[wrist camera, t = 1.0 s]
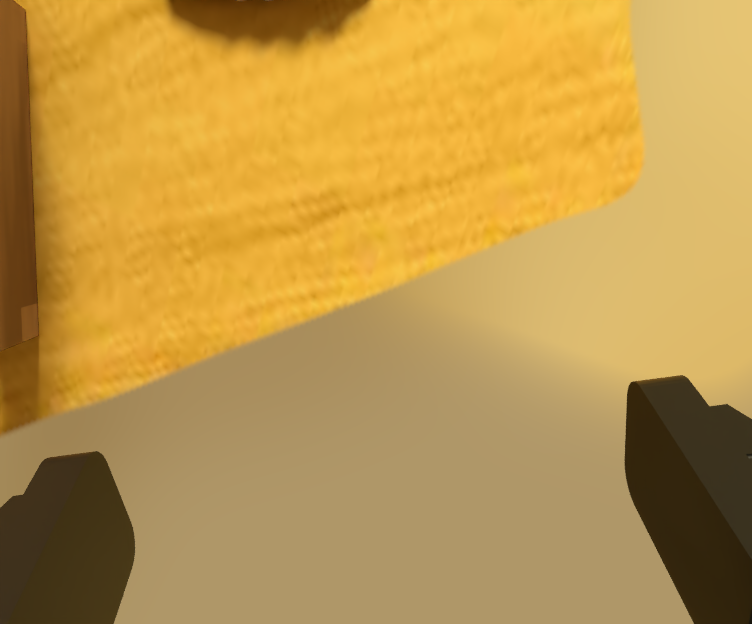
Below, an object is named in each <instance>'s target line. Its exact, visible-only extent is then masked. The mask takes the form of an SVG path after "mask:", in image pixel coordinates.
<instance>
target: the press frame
mask: <svg viewBox="0 0 752 624" xmlns="http://www.w3.org/2000/svg"><path fill="white" fill-rule="evenodd" d="M38 335H39V330H38V306H37V282H36V258H35V233H34V209H33V185H32V161H31V137H30V112H29V88H28V64H27V40H26V15H25V9H24V8H22V7H21V6H20V5H19V4H17V3H16V2H15V1H14V0H0V351H2V350H4V349H7V348H9V347H12V346H14V345H17V344H19V343H21V342H24V341H26V340H29V339H31V338H34V337H36V336H38Z"/></svg>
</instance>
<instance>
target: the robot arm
mask: <svg viewBox="0 0 752 624" xmlns="http://www.w3.org/2000/svg"><path fill="white" fill-rule="evenodd" d="M626 415H627V416H626V441H625V473H626V479H627V484H628V488H629V492H630V495H631V498H632V500H633V503H634V505H635V507H636V509H637V511H638V513H639V515H640V517H641V519H642V521H643V523H644V525H645V527H646V529H647V531H648V533H649V535H650V537H651V539H652V541H653V543H654V545H655V547H656V549H657V551H658V553H659V555H660V557H661V559H662V561H663V563H664V565H665V567H666V569H667V571H668V573H669V575H670V577H671V579H672V581H673V583H674V585H675V587H676V589H677V591H678V593H679V595H680V596H681V599H682V600H683V603H684V604H685V607H686V609H687V611H688V613H689V615H690V616H691V618H692V620H693V622H694V624H752V419H751V418H749V417H747V416H746V415H744V414H742V413H741V412H739V411H737V410H736V409H734V408H733V407H731V406H729V405H728V404H726V405H717V406H709V405H708V404H707V403H706V401H705V400H704V399H703V398H702V396H701V395H700V393H699V392H698V391H697V390H696V388H695V387H694V386H693V385H692V383H691V382H690V381H689V379H688V378H687V377H685V376H683V375H680V376H672V377H665V378H657V379H650V380H642V381H635V382H631V383H630V385H629V388H628V393H627V414H626ZM134 555H135V539H134V532H133V527H132V524H131V521H130V519H129V516H128V514H127V511H126V509H125V506H124V504H123V501H122V499H121V496H120V494H119V491H118V489H117V486H116V484H115V481H114V479H113V476H112V474H111V471H110V469H109V466H108V463H107V461H106V459H105V458H104V456H103V455H102V454H101V453H99V452H97V451H96V452H88V453H80V454H72V455H65V456H58V457H50V458H47V459H45V460H44V461H43V462H42V463H41V464H40V466H39V468H38V470H37V471H36V473H35V475H34V477H33V478H32V480H31V482H30V484H29V485H28V487H27V489H26V491H25V493H24V494H23V495H18V496H13V497H12V498H10V499H9V500H8V501H7V502H6V503H5V504H4V505H3V506H2V507H1V508H0V624H113V623H114V621H115V618H116V615H117V612H118V609H119V606H120V603H121V600H122V597H123V593H124V591H125V587H126V585H127V581H128V579H129V576H130V572H131V569H132V566H133V561H134Z"/></svg>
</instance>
